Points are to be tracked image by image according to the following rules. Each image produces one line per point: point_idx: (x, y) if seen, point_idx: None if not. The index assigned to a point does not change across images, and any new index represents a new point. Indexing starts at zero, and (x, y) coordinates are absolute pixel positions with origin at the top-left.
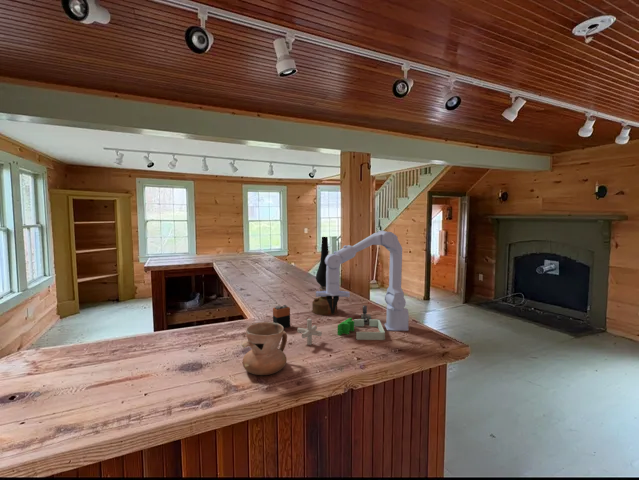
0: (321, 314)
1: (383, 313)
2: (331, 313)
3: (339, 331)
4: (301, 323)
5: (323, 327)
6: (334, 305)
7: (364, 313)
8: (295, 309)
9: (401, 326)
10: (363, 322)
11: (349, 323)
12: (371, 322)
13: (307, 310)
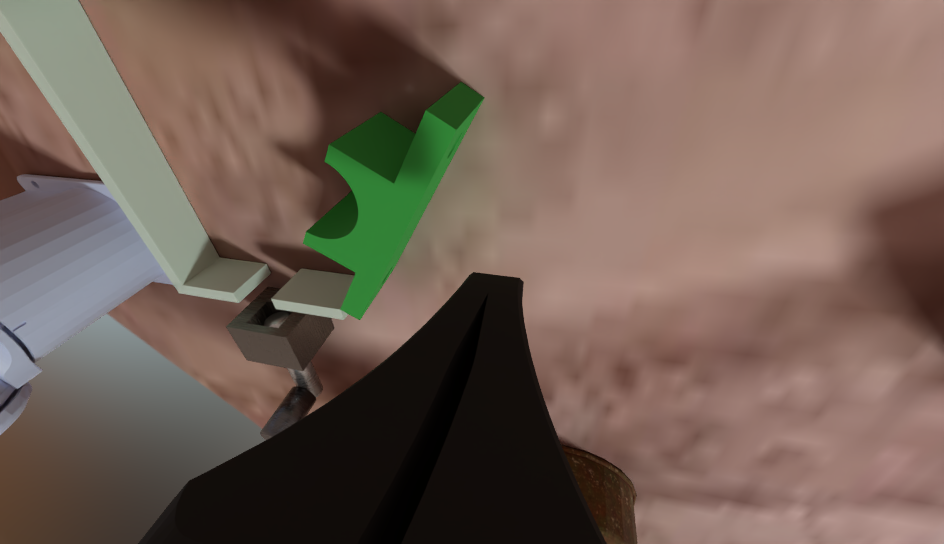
0: (582, 455)
1: (257, 401)
2: (516, 278)
3: (453, 94)
4: (789, 374)
5: (604, 280)
6: (410, 374)
7: (301, 388)
8: (737, 537)
9: (38, 199)
10: (287, 286)
11: (352, 226)
12: (235, 279)
13: (660, 511)
